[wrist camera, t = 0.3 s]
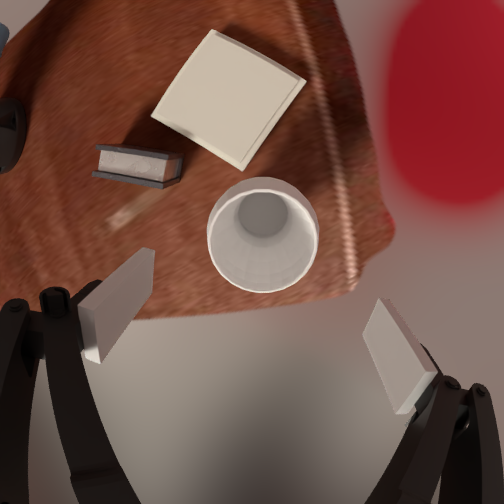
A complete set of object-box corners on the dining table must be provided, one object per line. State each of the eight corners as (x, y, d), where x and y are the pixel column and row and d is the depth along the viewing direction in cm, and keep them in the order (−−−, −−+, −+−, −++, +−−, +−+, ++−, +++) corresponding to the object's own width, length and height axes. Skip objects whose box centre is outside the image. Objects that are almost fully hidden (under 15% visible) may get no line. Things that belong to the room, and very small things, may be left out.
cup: (269, 153, 36) (274, 155, 22) (317, 215, 38) (346, 254, 24) (208, 202, 38) (176, 234, 24) (256, 259, 41) (253, 318, 27)
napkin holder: (117, 170, 37) (91, 175, 30) (121, 143, 36) (96, 144, 29) (179, 182, 38) (162, 189, 31) (184, 153, 36) (168, 155, 30)
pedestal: (159, 118, 34) (148, 115, 31) (215, 37, 30) (210, 26, 26) (244, 169, 37) (242, 171, 33) (303, 86, 32) (307, 79, 29)
